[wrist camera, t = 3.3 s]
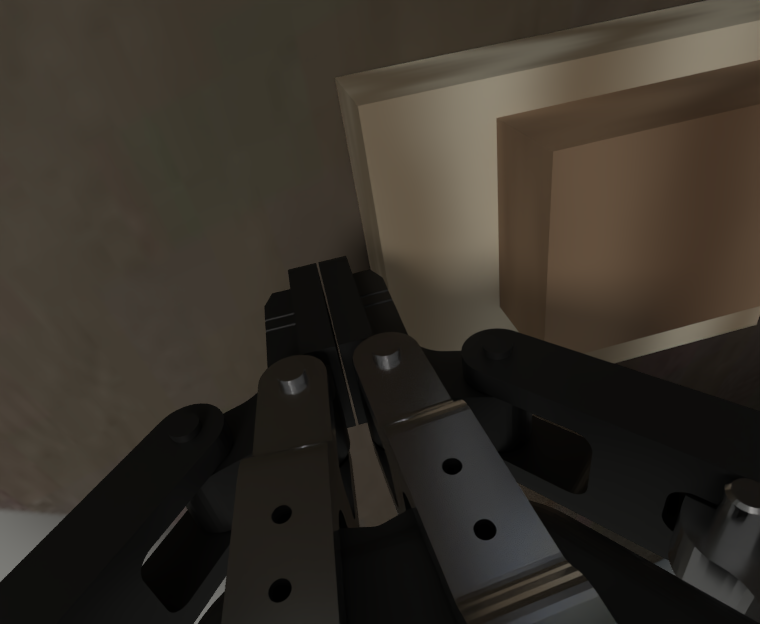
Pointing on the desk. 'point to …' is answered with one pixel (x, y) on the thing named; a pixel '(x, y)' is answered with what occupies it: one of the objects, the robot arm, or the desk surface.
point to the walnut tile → (631, 210)
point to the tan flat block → (479, 154)
